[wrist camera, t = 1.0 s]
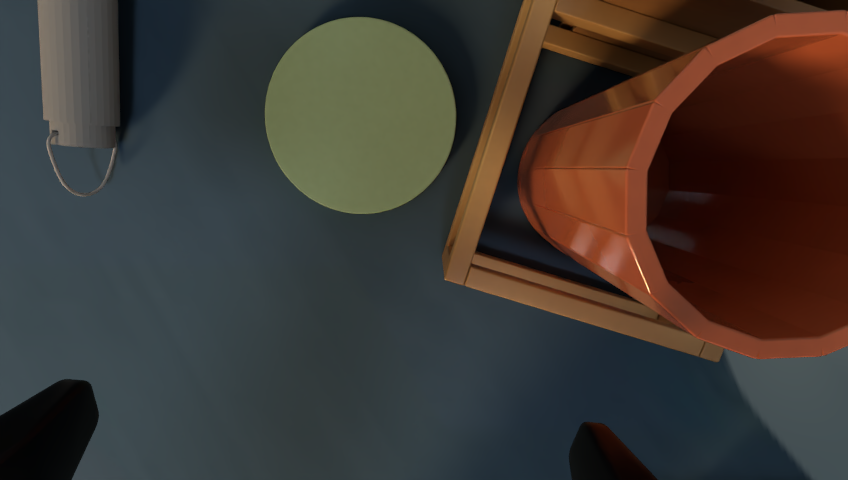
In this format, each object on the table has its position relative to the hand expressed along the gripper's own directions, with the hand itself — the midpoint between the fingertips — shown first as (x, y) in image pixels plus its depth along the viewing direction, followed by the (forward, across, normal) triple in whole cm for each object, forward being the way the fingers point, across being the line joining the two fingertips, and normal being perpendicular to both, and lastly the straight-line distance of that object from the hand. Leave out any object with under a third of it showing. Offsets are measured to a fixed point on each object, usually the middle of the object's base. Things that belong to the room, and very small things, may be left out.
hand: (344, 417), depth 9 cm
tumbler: (+14, -9, 0) cm, 17 cm away
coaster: (+15, +1, -1) cm, 15 cm away
